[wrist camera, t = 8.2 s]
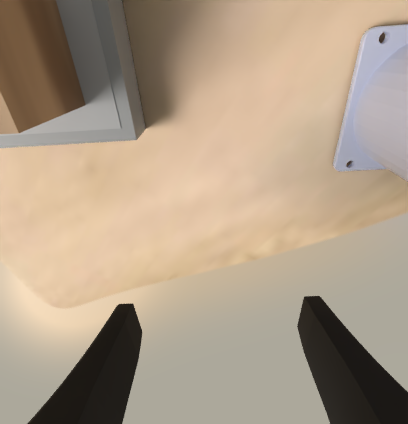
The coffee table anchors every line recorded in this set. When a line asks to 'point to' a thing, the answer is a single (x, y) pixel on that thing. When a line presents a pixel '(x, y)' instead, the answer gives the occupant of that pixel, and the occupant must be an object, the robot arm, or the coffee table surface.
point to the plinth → (94, 80)
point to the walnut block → (34, 66)
